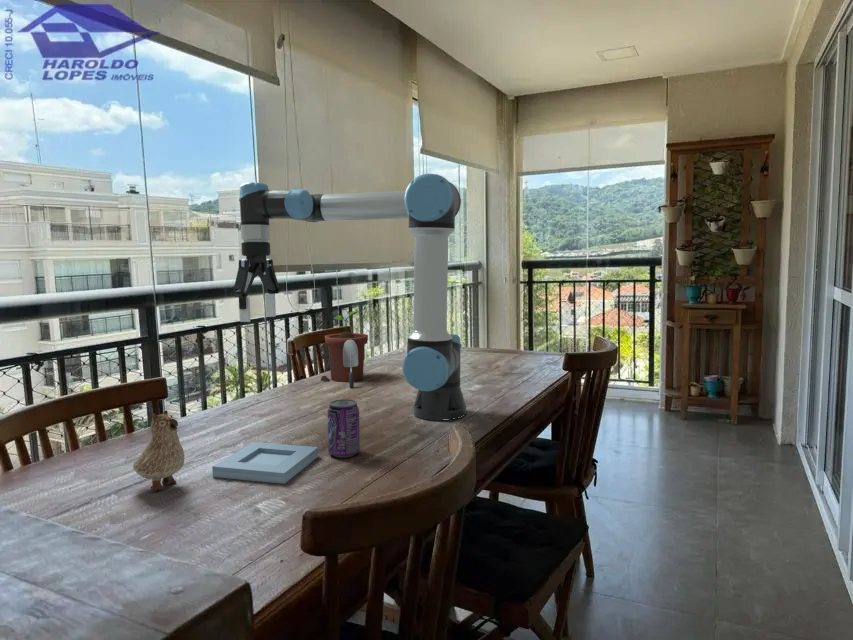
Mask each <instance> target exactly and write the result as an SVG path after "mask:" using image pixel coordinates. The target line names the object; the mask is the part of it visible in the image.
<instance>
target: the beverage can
mask: <svg viewBox="0 0 853 640" xmlns="http://www.w3.org/2000/svg"><path fill="white" fill-rule="evenodd" d="M360 434H361V433H360V409H359V406H358V402H357V400H355V399H349V398H348V399H347V398H346V399H344V398H343V399H342V398H341V399H335V400H331V401H330V402H329V407H328V408H327V443H328V444H327V450H328V451H327V452H328V454H329V455H331V456H333V457H335V458H339V459H340V458H341V459H343V458H350V457H351V458H352V457H353V456H355V455H356V454H358V453H360V450H361V445H360V443H361V441H360V439H361V437H360Z"/></svg>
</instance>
